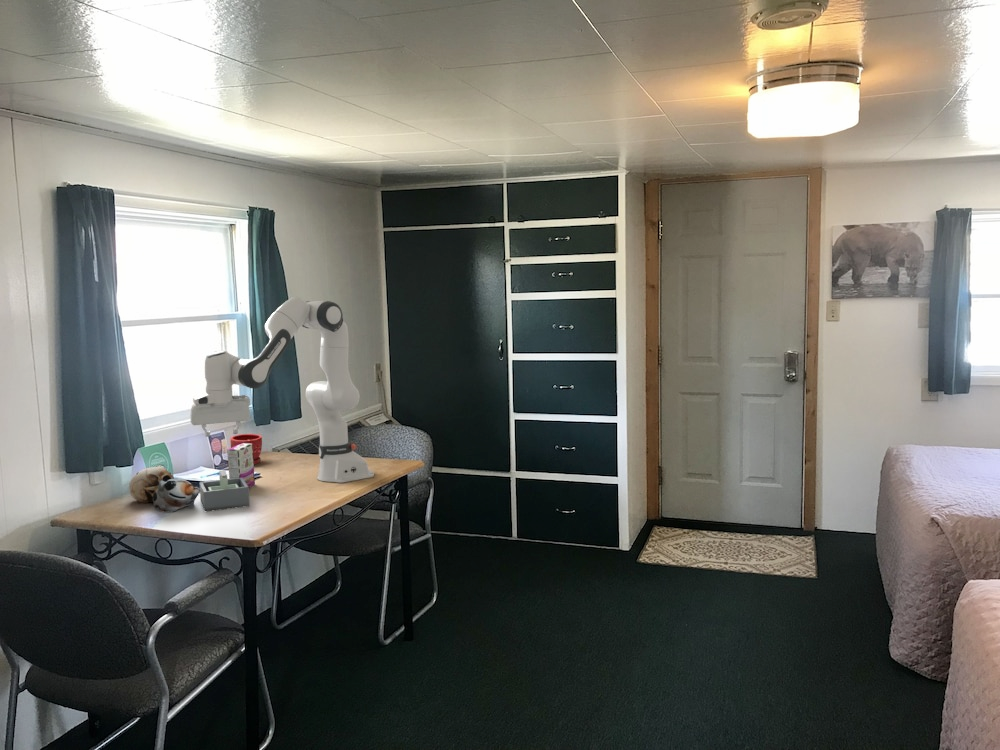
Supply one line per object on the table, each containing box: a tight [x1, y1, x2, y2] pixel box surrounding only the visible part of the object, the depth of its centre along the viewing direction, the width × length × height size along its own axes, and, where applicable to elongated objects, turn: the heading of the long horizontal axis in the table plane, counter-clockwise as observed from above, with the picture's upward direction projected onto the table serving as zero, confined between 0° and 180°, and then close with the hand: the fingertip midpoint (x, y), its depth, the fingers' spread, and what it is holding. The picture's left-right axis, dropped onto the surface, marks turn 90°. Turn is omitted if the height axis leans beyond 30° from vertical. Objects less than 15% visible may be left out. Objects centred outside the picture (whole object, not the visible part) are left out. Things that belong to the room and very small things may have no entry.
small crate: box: [208, 469, 238, 491], centre depth 296 cm, size 10×10×10 cm
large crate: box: [199, 478, 250, 512], centre depth 297 cm, size 15×15×7 cm
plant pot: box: [229, 433, 263, 465], centre depth 358 cm, size 13×13×12 cm
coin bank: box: [128, 466, 174, 504], centre depth 302 cm, size 16×17×13 cm
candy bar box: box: [227, 443, 256, 488], centre depth 318 cm, size 11×5×16 cm, turn 168°
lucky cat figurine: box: [152, 477, 200, 513], centre depth 291 cm, size 15×12×14 cm
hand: (221, 435), depth 295 cm, fingers open, 8 cm apart
